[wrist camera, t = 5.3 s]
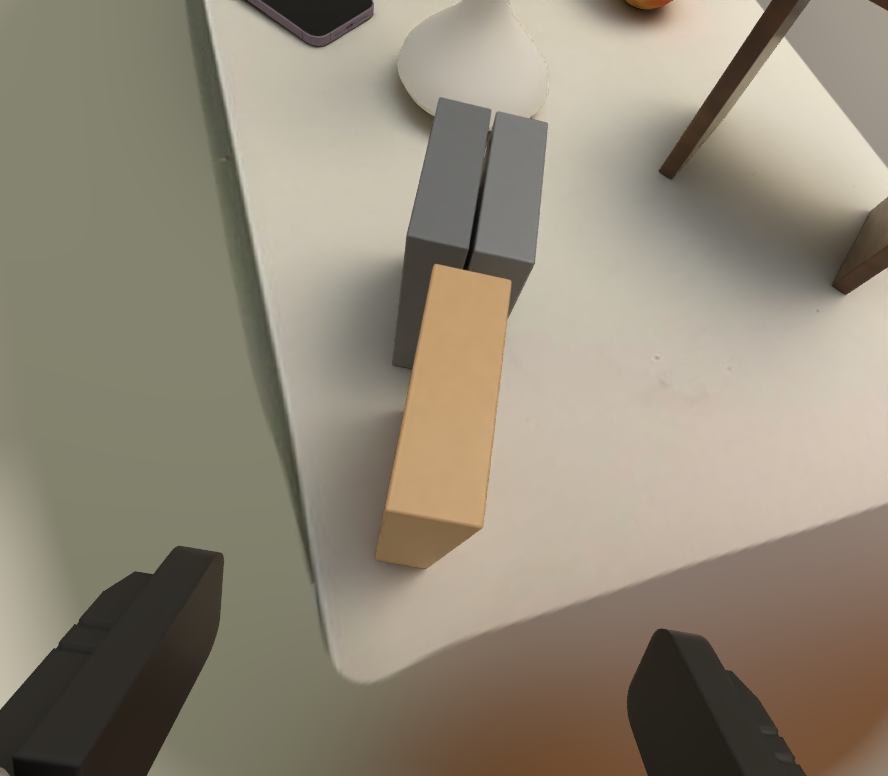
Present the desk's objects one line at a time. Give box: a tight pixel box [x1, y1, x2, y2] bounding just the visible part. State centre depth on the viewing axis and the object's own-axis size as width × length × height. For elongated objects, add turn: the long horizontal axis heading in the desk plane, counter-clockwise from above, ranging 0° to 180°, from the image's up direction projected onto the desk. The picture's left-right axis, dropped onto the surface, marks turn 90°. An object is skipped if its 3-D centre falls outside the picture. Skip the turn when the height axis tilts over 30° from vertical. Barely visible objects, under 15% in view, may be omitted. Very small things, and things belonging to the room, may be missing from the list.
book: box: [375, 264, 512, 569], centre depth 21 cm, size 3×8×13 cm, turn 171°
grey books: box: [392, 97, 548, 369], centre depth 26 cm, size 5×8×11 cm, turn 171°
